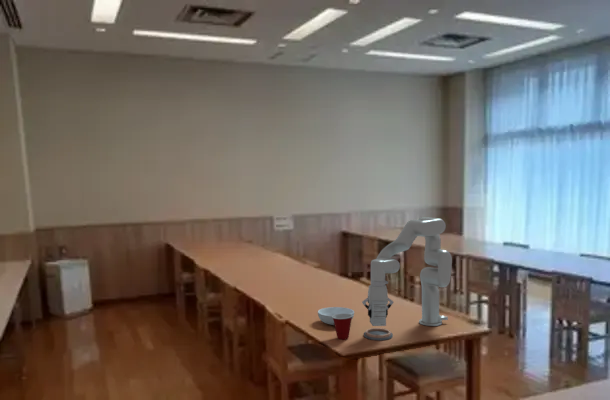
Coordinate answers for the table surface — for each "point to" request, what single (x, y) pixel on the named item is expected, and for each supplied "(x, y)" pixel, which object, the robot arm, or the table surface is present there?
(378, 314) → the supplement box
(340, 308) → the serving bowl
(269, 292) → the table surface
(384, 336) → the ring tray
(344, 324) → the plastic cup
